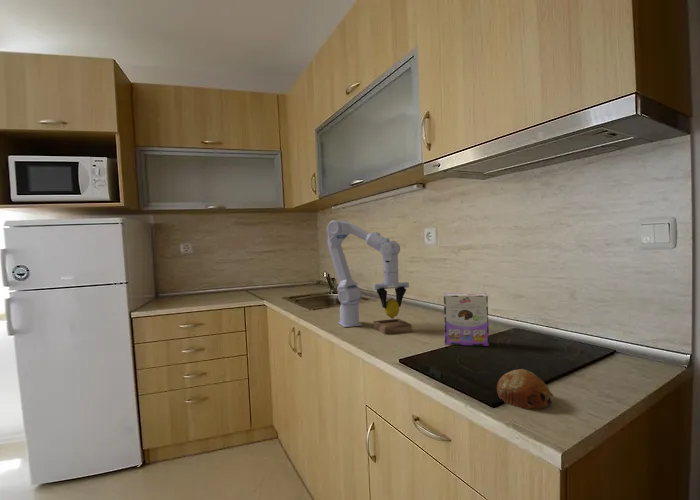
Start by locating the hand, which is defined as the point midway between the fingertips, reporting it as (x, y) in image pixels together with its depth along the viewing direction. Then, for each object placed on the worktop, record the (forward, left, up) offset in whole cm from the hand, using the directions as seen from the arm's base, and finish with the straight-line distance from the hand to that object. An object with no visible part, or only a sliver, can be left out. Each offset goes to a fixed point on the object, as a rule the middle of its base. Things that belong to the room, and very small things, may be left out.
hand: (391, 307), depth 140 cm
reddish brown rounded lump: (+67, -2, -9) cm, 68 cm away
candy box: (+27, +14, -9) cm, 32 cm away
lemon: (0, 0, -5) cm, 5 cm away
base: (0, 0, -9) cm, 9 cm away
